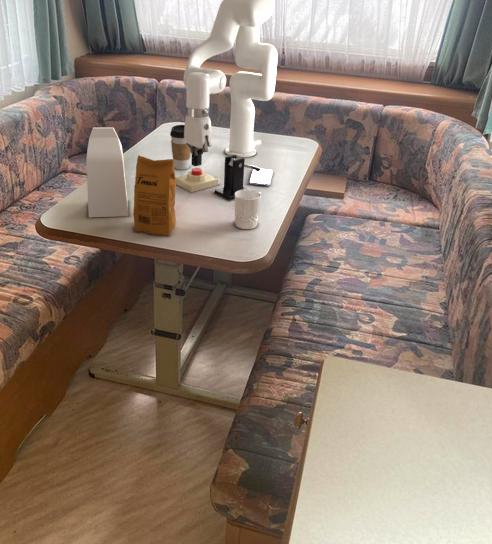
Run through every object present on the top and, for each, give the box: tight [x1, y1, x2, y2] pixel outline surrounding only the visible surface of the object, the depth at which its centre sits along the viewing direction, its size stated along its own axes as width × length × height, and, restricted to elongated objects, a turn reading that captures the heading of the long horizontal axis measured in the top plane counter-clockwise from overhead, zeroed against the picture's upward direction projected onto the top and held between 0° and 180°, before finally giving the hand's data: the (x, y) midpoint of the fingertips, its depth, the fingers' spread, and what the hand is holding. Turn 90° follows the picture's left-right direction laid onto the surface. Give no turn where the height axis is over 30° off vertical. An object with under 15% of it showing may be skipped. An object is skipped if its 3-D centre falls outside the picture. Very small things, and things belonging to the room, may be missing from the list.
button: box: [191, 167, 203, 176], centre depth 201 cm, size 4×4×2 cm
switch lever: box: [229, 158, 262, 171], centre depth 195 cm, size 12×5×2 cm, turn 130°
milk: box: [85, 126, 129, 218], centre depth 176 cm, size 12×12×26 cm
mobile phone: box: [248, 168, 274, 187], centre depth 210 cm, size 8×1×15 cm
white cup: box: [234, 188, 262, 230], centre depth 174 cm, size 8×8×10 cm
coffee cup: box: [169, 124, 192, 171], centre depth 214 cm, size 8×8×15 cm
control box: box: [175, 170, 219, 193], centre depth 203 cm, size 12×10×4 cm
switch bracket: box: [213, 155, 248, 201], centre depth 194 cm, size 10×8×13 cm
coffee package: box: [133, 155, 177, 236], centre depth 166 cm, size 10×12×22 cm
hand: (196, 165), depth 200 cm, fingers closed
